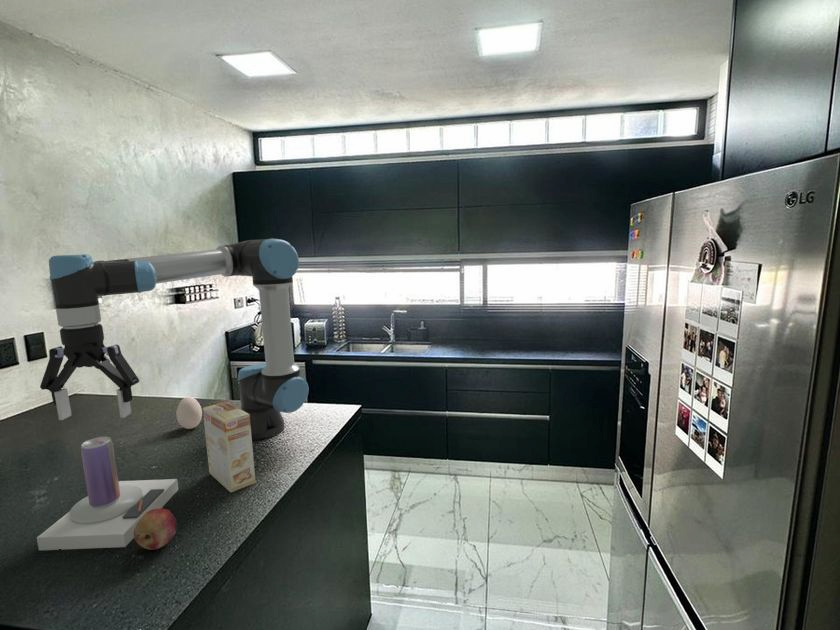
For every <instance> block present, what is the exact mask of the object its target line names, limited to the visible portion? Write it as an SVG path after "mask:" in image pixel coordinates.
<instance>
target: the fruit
mask: <svg viewBox="0 0 840 630" xmlns="http://www.w3.org/2000/svg"><path fill="white" fill-rule="evenodd" d="M171 511H172V510H169V509H168V508H167V509H166V508H161V509H153V510H150V511H148V512H147V513H145V514H144V515H143V516H142V518H141V519H140V520H139V521H138V522H137V524H136V526H135V529H134V538H133V539H134V540H135V542H136V543H137V544H138V545H139V546H140V547H141V548H142V549H146V550H150V551H151V550H152V551H153V550H158V549H161V548H163V547H164V546H166V545H168V543H170V541H171V540H172V539H173V537H174V536H175V534H176V532H177V528H178V522H177V519H176V517H175V516H174V515H173V513H172V512H171Z"/></svg>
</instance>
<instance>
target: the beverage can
mask: <svg viewBox="0 0 840 630" xmlns="http://www.w3.org/2000/svg"><path fill="white" fill-rule="evenodd" d="M80 447H81V449H80V453H81V459H82V466H83V472H84V479H85V480H84V481H85V485H86V491H87V496H88V499H89V504H90V505H91V506H92V507H94V508H102V507H106V506H109V505H111V504H113V503H115V502H116V501H117V500H118V499H119V497H120V489H119V482H118V481H119V476H118V470H117V464H116V463H117V462H116V456H115V449H114V443H113V440H112V438H111V437H110V436H98V437H93V438H91V439H88V440H85V441H84V442H82V443H81V445H80Z"/></svg>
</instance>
